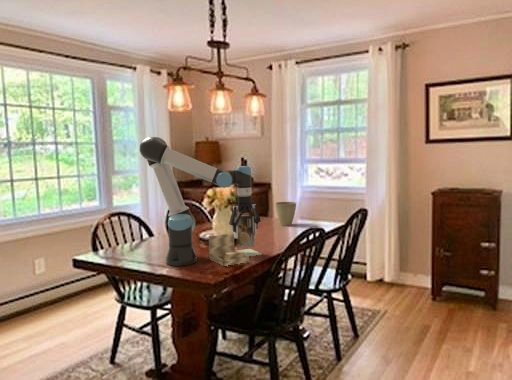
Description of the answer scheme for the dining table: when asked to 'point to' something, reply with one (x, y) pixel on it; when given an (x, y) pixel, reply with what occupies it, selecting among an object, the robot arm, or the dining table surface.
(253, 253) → the felt mat
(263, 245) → the dining table surface
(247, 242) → the coffee box
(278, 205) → the plant pot
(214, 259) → the rack
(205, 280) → the dining table surface
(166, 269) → the dining table surface
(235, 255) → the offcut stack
